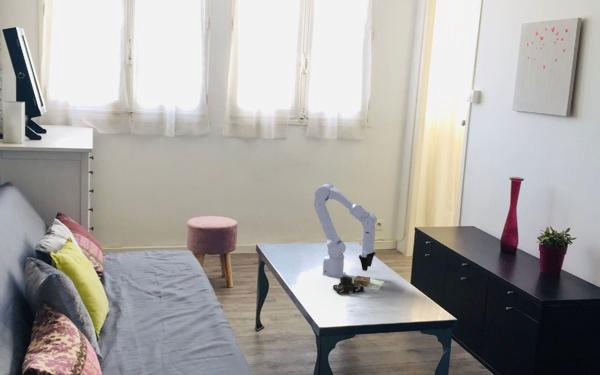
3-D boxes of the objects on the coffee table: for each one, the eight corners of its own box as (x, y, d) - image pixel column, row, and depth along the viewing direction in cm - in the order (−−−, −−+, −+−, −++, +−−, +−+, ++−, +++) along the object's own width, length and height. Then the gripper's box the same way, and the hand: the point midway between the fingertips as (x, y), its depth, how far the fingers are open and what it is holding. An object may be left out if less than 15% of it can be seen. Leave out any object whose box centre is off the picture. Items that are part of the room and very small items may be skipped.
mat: (339, 285, 289) (339, 284, 288) (347, 276, 302) (347, 275, 302) (378, 290, 283) (378, 289, 283) (385, 281, 296) (385, 280, 296)
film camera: (360, 275, 287) (365, 276, 277) (361, 292, 286) (366, 293, 276) (331, 276, 285) (335, 278, 275) (332, 293, 284) (335, 295, 274)
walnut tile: (357, 280, 295) (353, 285, 288) (357, 275, 294) (353, 279, 288) (370, 282, 293) (366, 286, 286) (370, 277, 292) (366, 281, 286)
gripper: (373, 244, 287) (371, 273, 289) (380, 237, 301) (378, 265, 303) (358, 243, 289) (356, 271, 292) (365, 236, 303) (363, 263, 305)
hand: (366, 268), depth 298 cm, fingers open, 7 cm apart
